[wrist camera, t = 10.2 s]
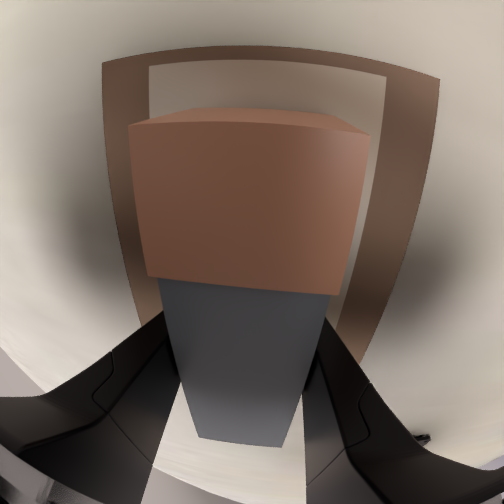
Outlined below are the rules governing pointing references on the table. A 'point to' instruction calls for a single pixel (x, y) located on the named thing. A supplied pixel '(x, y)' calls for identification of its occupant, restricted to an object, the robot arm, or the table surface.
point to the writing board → (294, 99)
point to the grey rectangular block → (246, 252)
